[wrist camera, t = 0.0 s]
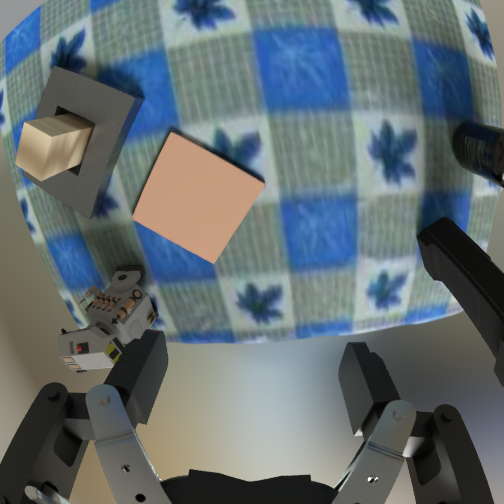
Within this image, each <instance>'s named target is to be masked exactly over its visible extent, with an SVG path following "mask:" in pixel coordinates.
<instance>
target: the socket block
mask: <svg viewBox="0 0 504 504" xmlns="http://www.w3.org/2000/svg"><path fill="white" fill-rule="evenodd" d="M144 99H145V98H143V97H141V96H139V95H136V94H134V93H132V92H130V91H127V90H125V89H123V88H120V87H118V86H116V85H113V84H111V83H108V82H106V81H103V80H101V79H98V78H96V77H93V76H91V75H88V74H85V73H83V72H80V71H77V70H74V69H72V68H69V67H66V66H54V68H53V70H52V73H51V75H50V78H49V80H48V83H47V85H46V88H45V91H44V94H43V97H42V99H41V102H40V106H39V109H38V112H37V115H36V119H41V118H46V117H52V116H58V115H64V114H66V112H67V110H69V111H71V112H73V113H75V114H77V115H79V116H81V117H83V118H85V119H87V120H89V121H92V122H94V123H96V125H95V127H94V130H93V133H92V135H91V138H90V141H89V144H88V147H87V150H86V153H85V156H84V159H83V162H82V165H81V167H80V166H78V165H76V166H74V167H71V168H69V169H67V170H65V171H62V172H60V173H58V174H56V175H54V176H51V177H49V178H47V179H45V180H43V181H40V180H38V179H37V178H35V177H34V176H32V175H31V174H29V173H28V172H26V171H25V170H24V171H23V176H24V177H26V178H27V179H29V180H30V181H32V182H33V183H35V184H36V185H38V186H39V187H41V188H42V189H44V190H45V191H47V192H48V193H50V194H51V195H53V196H54V197H56V198H57V199H59V200H60V201H62V202H64V203H65V204H67V205H68V206H70V207H71V208H73V209H75V210H76V211H78V212H79V213H81V214H83V215H84V216H86V217H87V218H89V219H91V218H92V217H93V216H94V215H96V214H97V213H98V212H99V211H100V208H101V205H102V202H103V199H104V195H105V192H106V190H107V187H108V184H109V181H110V178H111V175H112V173H113V170H114V167H115V165H116V162H117V159H118V157H119V154H120V152H121V149H122V147H123V145H124V142H125V140H126V138H127V135H128V133H129V131H130V129H131V126H132V124H133V122H134V120H135V118H136V116H137V114H138V111H139V109H140V107H141V105H142V103H143V101H144ZM36 119H35V120H36Z"/></svg>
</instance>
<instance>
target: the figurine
mask: <svg viewBox="0 0 504 504" xmlns="http://www.w3.org/2000/svg"><path fill="white" fill-rule="evenodd" d="M144 275H145V269H144V266H141V265H139V266H118V267H117V269H116V273H115V274H114V276H113V277H112V280H111V286H110V287H109V288H108V289H107V290H106V291H105V292H104V293H103V294H102V291H101V290H100V289H96V287H95V286H94V285H93V286H92V288H90V289H88V291H87V292H86V294H85V295H86V296H85V298H84V299H85V300H86V299H87V298H88V297H90V296H91V295H92V294H93V296H94V301H95V302H94V301H92V302H91V303H90V304H89V305H88V306H87V307H86V309H85V310H86V311H87V314H86V316H87V318H88V320H89V322H90V325H89V326H88V327H87V328H84V329H79V330H75V331H70V332H66V330H64V329H62V333H63V334H61V335H59V336H58V345H59V355H60V358H61V359H62V360H63V362H64V363H65V364H66V365H67V366H68V368H70V370H77V371H76V372H77V373H83V372H86V371H87V369H101V368H112V367H113V366H114V365H115V363H116V361H118V358H119V356H120V354H122V351H123V349H124V348H125V346H126V344H128V343H129V342H130V341H132V340H133V339H134V338H137V339H140V338H141V337H142V335H143V333H144V331H145V330H146V329H149V328H150V327H151V325H152V324H153V322H154V320H155V319H157V317H158V316H159V314H158V311H157V309H155V308H153V307H152V304H151V301H150V298H149V295H148V294H147V293H146V292H145V291H144V290H143V289H142V288H141V287H139V286H138V285H137V284H136V283H137V281H138V280H139V279H140V278H141V277H143V276H144ZM84 299H83V300H84ZM83 300H82V301H83ZM82 301H81V302H82ZM81 302H80V303H81Z"/></svg>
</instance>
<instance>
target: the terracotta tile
mask: <svg viewBox="0 0 504 504" xmlns="http://www.w3.org/2000/svg"><path fill="white" fill-rule="evenodd" d="M264 186H265V183H264V182H262V181H260V180H259V179H257V178H255V177H254V176H252V175H250V174H249V173H247V172H245V171H244V170H242V169H240V168H239V167H237V166H235V165H233V164H232V163H230V162H228V161H226V160H225V159H223V158H221V157H219V156H218V155H216V154H214V153H212V152H210V151H209V150H207V149H205V148H203V147H201V146H199V145H198V144H196V143H194V142H192V141H190V140H188V139H186V138H185V137H183V136H181V135H179V134H177V133H175V132H173V131H172V132H171V133H170V135H169V137H168V139H167V141H166V143H165V145H164V147H163V149H162V151H161V153H160V155H159V157H158V159H157V161H156V163H155V165H154V168H153V170H152V172H151V174H150V176H149V179H148V181H147V183H146V185H145V188H144V190H143V192H142V195H141V197H140V199H139V202H138V204H137V207H136V209H135V212H134V214H133V217H132V219H133V220H135V221H137V222H139V223H140V224H142V225H144V226H146V227H147V228H149V229H151V230H153V231H154V232H156V233H158V234H160V235H162V236H163V237H165V238H167V239H169V240H171V241H172V242H174V243H176V244H178V245H180V246H181V247H183V248H185V249H187V250H189V251H191V252H192V253H194V254H196V255H198V256H200V257H202V258H203V259H205V260H207V261H209V262H211V263H213V264H214V263H215V262H216V260H217V258H218V257H219V255H220V254H221V252H222V251H223V249H224V247H225V246H226V244H227V243H228V241H229V240H230V238H231V237H232V235H233V233H234V232H235V230H236V229H237V227H238V226H239V224H240V223H241V221H242V220H243V218H244V217H245V215H246V213H247V212H248V210H249V209H250V207H251V206H252V204H253V203H254V201H255V200H256V198H257V197H258V195H259V194H260V192H261V191H262V189H263V188H264Z"/></svg>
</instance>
